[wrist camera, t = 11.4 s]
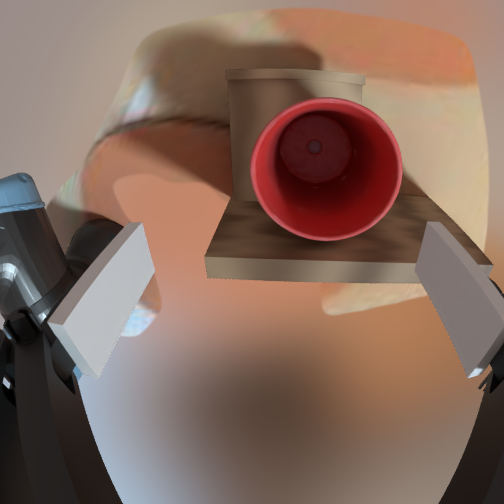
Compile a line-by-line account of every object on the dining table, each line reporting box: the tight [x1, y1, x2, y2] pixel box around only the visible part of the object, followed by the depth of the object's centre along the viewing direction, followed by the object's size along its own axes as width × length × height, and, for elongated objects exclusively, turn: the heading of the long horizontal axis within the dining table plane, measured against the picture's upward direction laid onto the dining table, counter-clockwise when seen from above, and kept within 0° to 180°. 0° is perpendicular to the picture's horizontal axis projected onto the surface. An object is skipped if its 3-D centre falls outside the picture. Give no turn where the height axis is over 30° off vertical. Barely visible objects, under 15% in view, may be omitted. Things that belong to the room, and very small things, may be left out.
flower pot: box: [250, 97, 403, 241], centre depth 22 cm, size 11×11×10 cm
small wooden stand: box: [226, 69, 365, 201], centre depth 28 cm, size 13×14×6 cm
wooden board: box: [205, 194, 493, 283], centre depth 27 cm, size 26×2×16 cm, turn 92°
